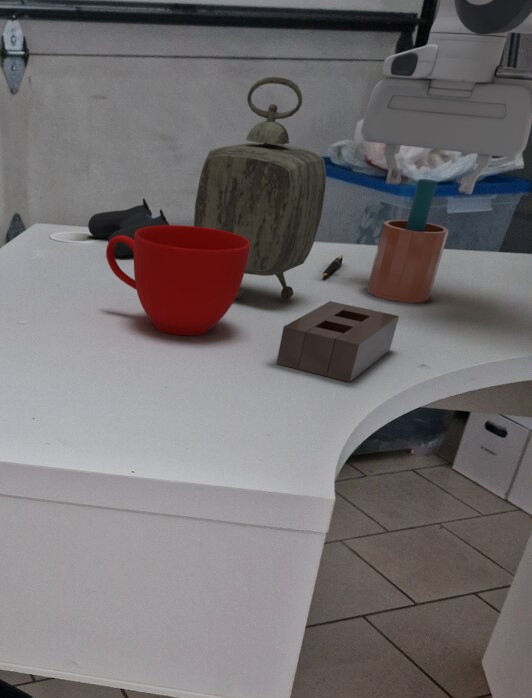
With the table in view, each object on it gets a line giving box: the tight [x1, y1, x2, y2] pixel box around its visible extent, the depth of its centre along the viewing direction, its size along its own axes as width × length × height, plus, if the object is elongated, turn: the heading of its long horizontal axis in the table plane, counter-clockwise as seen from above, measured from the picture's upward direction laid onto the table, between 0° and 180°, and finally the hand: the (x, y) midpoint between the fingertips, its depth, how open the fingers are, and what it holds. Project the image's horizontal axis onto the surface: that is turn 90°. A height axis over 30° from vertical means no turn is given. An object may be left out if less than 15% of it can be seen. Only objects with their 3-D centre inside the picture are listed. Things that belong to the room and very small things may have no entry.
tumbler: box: [367, 219, 450, 304], centre depth 115 cm, size 8×8×9 cm
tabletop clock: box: [193, 76, 327, 300], centre depth 105 cm, size 14×9×25 cm, turn 56°
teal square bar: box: [406, 178, 438, 232], centre depth 113 cm, size 2×2×14 cm
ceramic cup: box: [105, 224, 250, 336], centre depth 96 cm, size 13×17×10 cm
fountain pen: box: [322, 254, 344, 278], centre depth 126 cm, size 14×1×2 cm, turn 155°
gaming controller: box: [87, 198, 170, 258], centre depth 131 cm, size 17×6×10 cm
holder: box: [276, 300, 400, 383], centre depth 91 cm, size 8×14×4 cm, turn 146°
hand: (428, 188), depth 109 cm, fingers open, 8 cm apart
